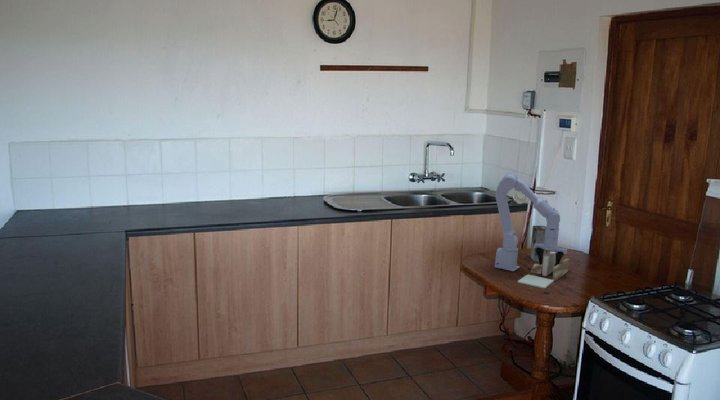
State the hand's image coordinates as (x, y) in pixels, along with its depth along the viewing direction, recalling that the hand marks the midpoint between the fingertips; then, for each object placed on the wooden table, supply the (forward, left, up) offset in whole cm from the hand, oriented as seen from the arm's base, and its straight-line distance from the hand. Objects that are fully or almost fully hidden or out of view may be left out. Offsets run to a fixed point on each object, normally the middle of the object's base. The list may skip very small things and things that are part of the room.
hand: (548, 265), depth 276 cm
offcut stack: (-5, 0, -4) cm, 6 cm away
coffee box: (-11, +18, -4) cm, 21 cm away
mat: (0, -16, -3) cm, 16 cm away
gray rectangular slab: (0, 0, -3) cm, 3 cm away
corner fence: (0, 0, -3) cm, 3 cm away
